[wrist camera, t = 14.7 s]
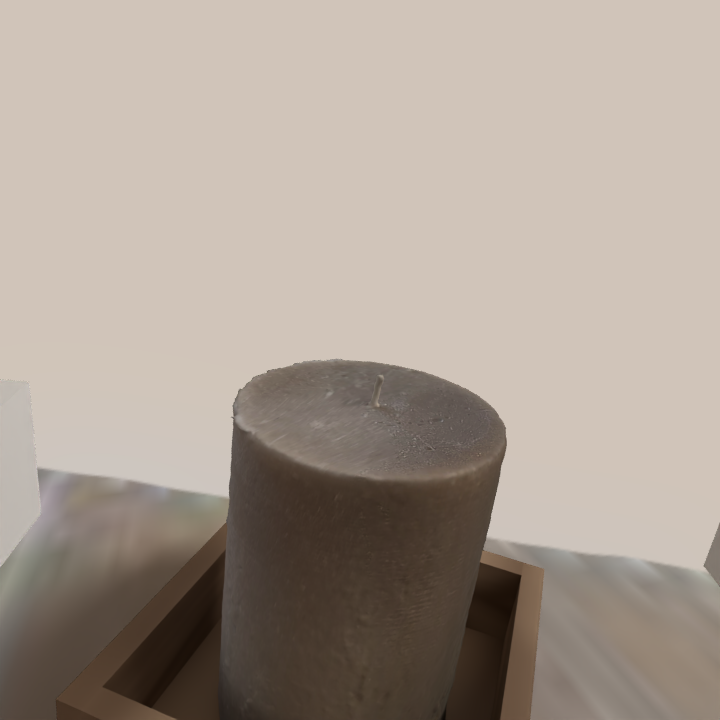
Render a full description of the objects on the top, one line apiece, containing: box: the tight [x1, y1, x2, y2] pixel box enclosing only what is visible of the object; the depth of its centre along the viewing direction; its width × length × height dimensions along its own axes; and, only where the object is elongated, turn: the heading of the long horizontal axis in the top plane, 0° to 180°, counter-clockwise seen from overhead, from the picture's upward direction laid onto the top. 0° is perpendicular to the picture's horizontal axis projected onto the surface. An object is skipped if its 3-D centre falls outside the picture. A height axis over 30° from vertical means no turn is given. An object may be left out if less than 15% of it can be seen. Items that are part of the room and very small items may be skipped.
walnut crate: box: [56, 523, 544, 720], centre depth 26 cm, size 15×15×5 cm
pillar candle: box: [218, 359, 507, 720], centre depth 24 cm, size 10×10×15 cm
